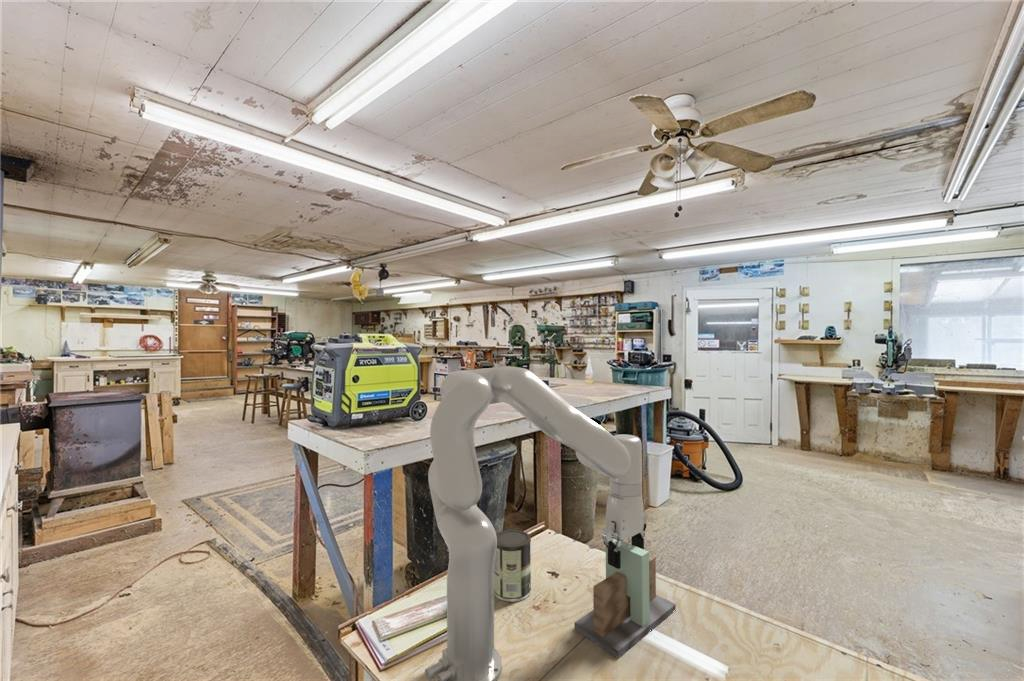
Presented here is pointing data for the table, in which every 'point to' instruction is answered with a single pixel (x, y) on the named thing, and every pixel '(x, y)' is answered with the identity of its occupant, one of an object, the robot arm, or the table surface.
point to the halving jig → (621, 614)
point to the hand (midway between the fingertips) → (626, 559)
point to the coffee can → (512, 566)
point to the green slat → (634, 580)
